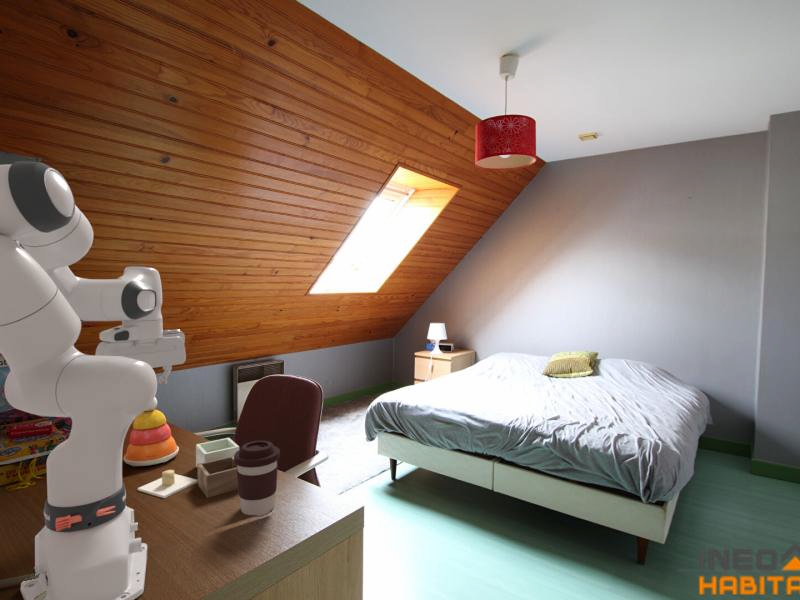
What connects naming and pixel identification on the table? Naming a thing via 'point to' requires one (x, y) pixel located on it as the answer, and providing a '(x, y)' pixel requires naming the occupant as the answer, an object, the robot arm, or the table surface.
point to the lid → (167, 484)
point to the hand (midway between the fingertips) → (143, 386)
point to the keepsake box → (217, 476)
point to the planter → (215, 450)
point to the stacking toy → (150, 439)
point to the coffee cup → (257, 477)
